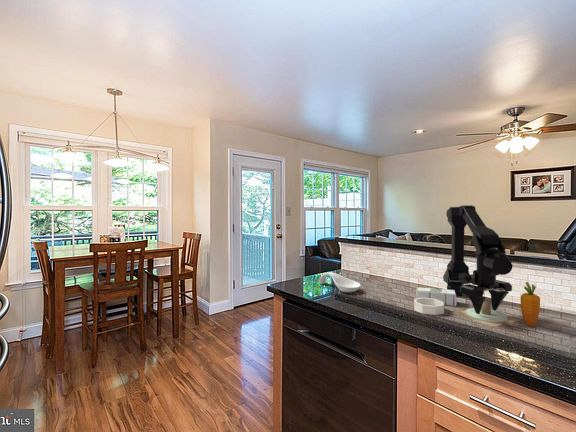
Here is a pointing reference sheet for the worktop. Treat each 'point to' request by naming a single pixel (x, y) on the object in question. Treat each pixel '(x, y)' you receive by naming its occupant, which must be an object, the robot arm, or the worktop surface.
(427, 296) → the syrup box
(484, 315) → the lid
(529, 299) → the carrot
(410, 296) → the worktop surface
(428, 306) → the bowl
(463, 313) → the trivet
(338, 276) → the spoon rest
